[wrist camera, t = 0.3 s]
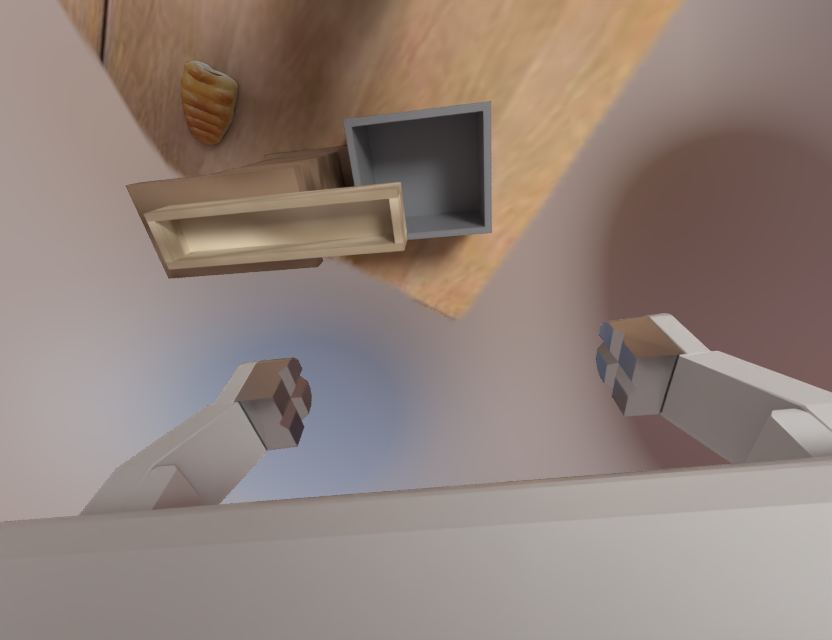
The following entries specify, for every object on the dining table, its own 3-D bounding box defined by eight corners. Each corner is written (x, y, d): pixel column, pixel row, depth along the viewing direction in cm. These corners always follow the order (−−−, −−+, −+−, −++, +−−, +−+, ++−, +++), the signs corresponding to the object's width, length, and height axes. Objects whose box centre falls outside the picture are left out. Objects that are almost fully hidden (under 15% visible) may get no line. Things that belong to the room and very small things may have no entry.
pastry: (233, 152, 52) (218, 155, 49) (185, 132, 51) (167, 133, 48) (243, 79, 48) (227, 77, 44) (191, 56, 47) (171, 51, 43)
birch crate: (169, 205, 30) (143, 213, 27) (400, 181, 28) (396, 188, 25) (191, 256, 32) (168, 269, 29) (407, 238, 30) (404, 250, 27)
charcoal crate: (360, 118, 49) (342, 119, 40) (482, 103, 47) (491, 101, 38) (377, 223, 55) (364, 243, 47) (483, 213, 54) (491, 232, 45)
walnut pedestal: (264, 154, 52) (125, 185, 29) (361, 143, 50) (293, 167, 28) (280, 212, 56) (168, 278, 33) (370, 203, 54) (318, 266, 31)
